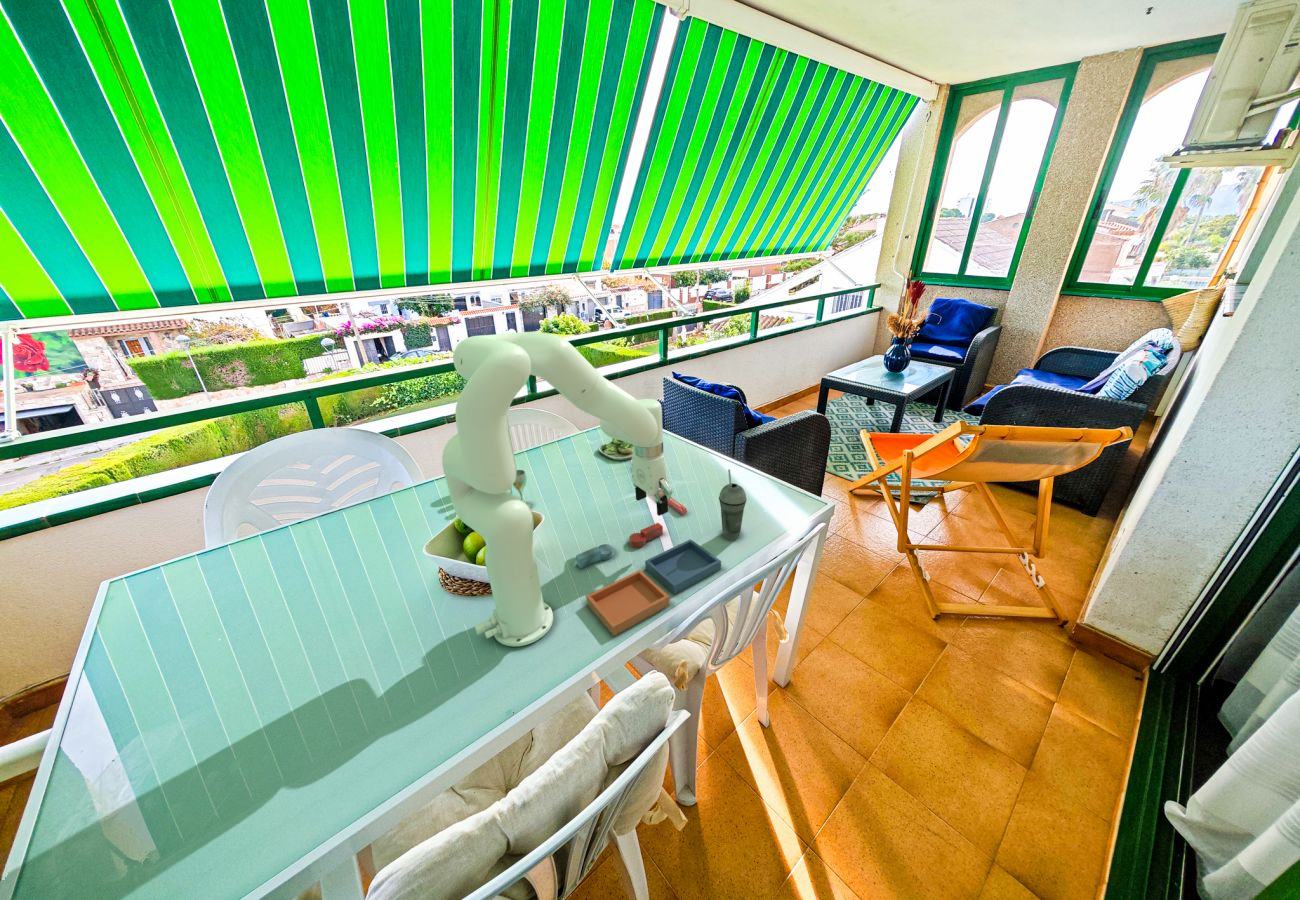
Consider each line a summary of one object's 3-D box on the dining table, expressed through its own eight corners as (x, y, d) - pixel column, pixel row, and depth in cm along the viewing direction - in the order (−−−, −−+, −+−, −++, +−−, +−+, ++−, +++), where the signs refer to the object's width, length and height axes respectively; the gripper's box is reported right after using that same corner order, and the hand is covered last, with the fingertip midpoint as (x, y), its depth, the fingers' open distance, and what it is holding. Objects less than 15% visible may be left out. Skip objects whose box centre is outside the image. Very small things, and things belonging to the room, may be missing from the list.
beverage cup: (744, 543, 122) (748, 477, 113) (716, 541, 123) (718, 475, 115) (744, 528, 128) (748, 464, 120) (718, 526, 130) (720, 462, 121)
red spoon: (655, 529, 129) (655, 520, 128) (665, 536, 126) (665, 527, 125) (626, 542, 124) (625, 533, 123) (635, 549, 121) (635, 541, 120)
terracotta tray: (613, 636, 95) (612, 627, 94) (587, 604, 103) (586, 595, 102) (669, 605, 102) (669, 596, 101) (640, 577, 111) (639, 569, 110)
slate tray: (674, 594, 105) (674, 586, 104) (645, 568, 114) (645, 560, 113) (720, 569, 113) (721, 560, 112) (690, 546, 121) (690, 539, 120)
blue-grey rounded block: (583, 570, 114) (581, 561, 113) (575, 562, 117) (573, 553, 116) (616, 555, 119) (616, 546, 118) (608, 547, 122) (607, 538, 121)
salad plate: (658, 454, 176) (658, 443, 174) (619, 467, 166) (618, 455, 164) (630, 439, 190) (630, 428, 188) (593, 450, 181) (592, 439, 179)
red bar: (678, 519, 135) (690, 510, 137) (676, 514, 134) (688, 505, 135) (637, 487, 154) (648, 479, 155) (634, 482, 153) (646, 475, 154)
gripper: (617, 441, 120) (622, 497, 127) (656, 464, 107) (659, 525, 114) (641, 434, 124) (644, 489, 131) (681, 455, 111) (683, 514, 118)
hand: (651, 505), depth 123 cm, fingers open, 9 cm apart
